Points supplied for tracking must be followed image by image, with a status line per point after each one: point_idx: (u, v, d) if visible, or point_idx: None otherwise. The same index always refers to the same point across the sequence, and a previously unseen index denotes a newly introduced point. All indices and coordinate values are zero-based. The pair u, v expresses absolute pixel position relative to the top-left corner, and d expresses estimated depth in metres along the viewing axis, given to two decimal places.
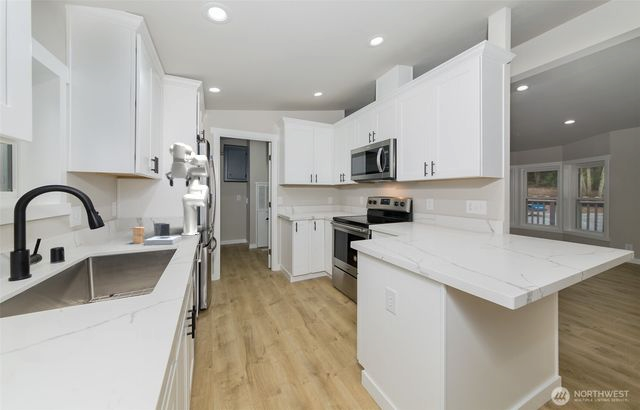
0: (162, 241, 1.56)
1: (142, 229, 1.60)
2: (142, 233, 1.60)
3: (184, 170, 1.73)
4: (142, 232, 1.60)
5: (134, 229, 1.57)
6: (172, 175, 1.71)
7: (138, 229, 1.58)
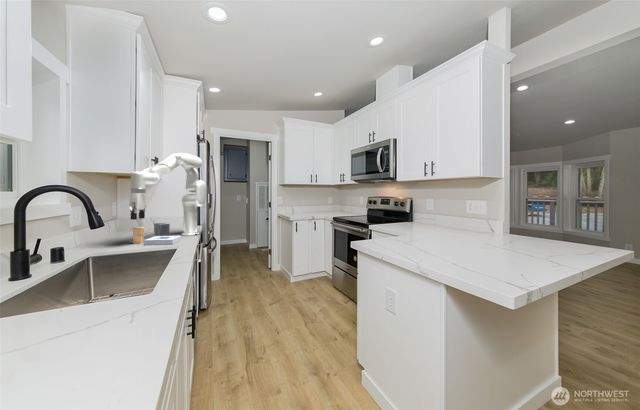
0: (162, 241, 1.56)
1: (142, 229, 1.60)
2: (142, 233, 1.60)
3: (144, 201, 1.63)
4: (142, 232, 1.60)
5: (134, 229, 1.57)
6: (138, 207, 1.56)
7: (138, 229, 1.58)
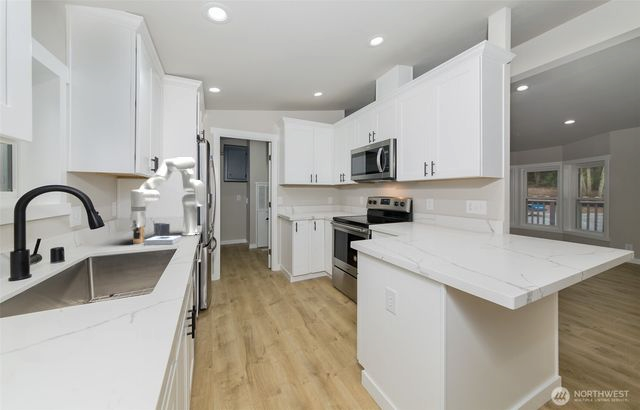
0: (162, 241, 1.56)
1: (142, 229, 1.60)
2: (142, 233, 1.60)
3: (145, 218, 1.64)
4: (142, 232, 1.60)
5: None
6: (139, 225, 1.56)
7: None
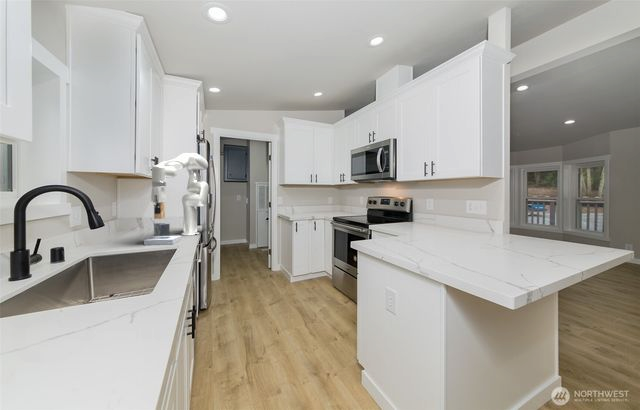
0: (162, 241, 1.56)
1: (162, 204, 1.63)
2: (162, 208, 1.63)
3: (165, 194, 1.66)
4: (162, 207, 1.63)
5: None
6: (160, 200, 1.59)
7: None
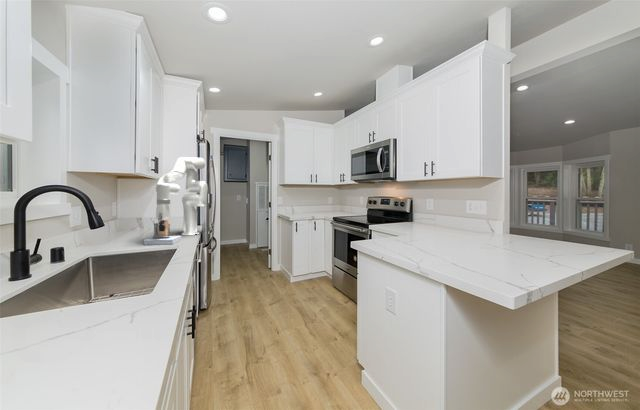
0: (162, 241, 1.56)
1: (167, 222, 1.63)
2: (167, 226, 1.63)
3: (169, 211, 1.67)
4: (167, 225, 1.63)
5: None
6: (164, 218, 1.60)
7: None
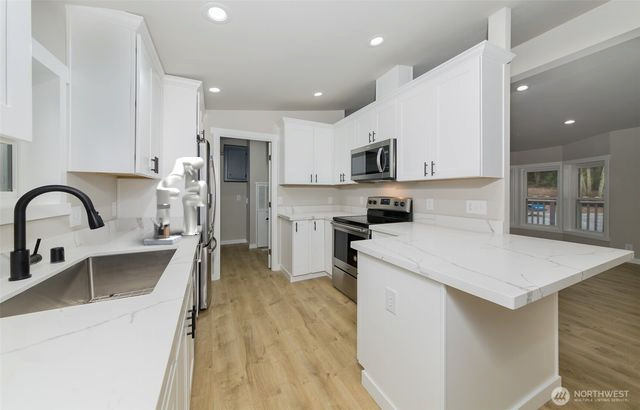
0: (162, 241, 1.56)
1: (167, 229, 1.64)
2: (167, 232, 1.64)
3: (169, 216, 1.67)
4: (167, 231, 1.64)
5: None
6: (164, 222, 1.60)
7: None
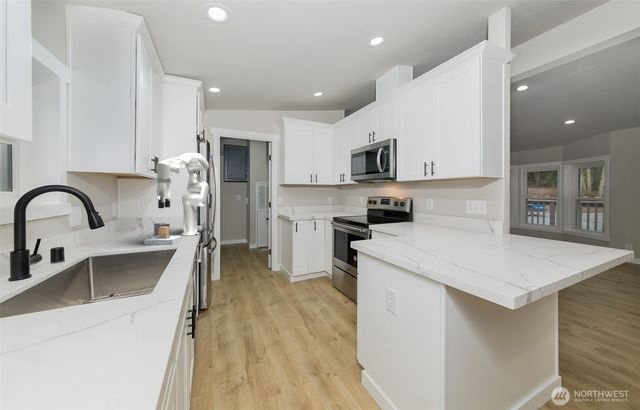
0: (162, 241, 1.56)
1: (167, 229, 1.64)
2: (167, 232, 1.64)
3: None
4: (167, 231, 1.64)
5: (160, 229, 1.61)
6: (165, 196, 1.60)
7: (163, 229, 1.61)
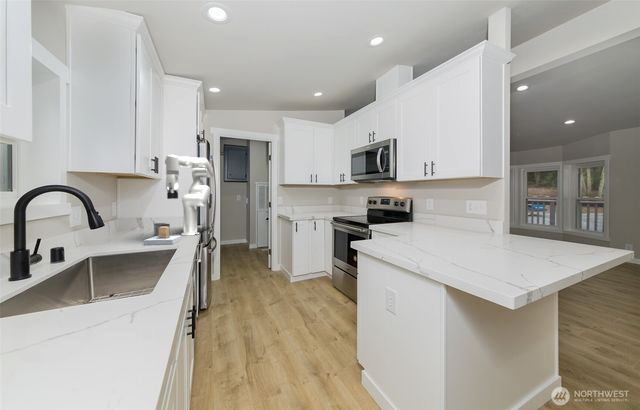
0: (162, 241, 1.56)
1: (167, 229, 1.64)
2: (167, 232, 1.64)
3: None
4: (167, 231, 1.64)
5: (160, 229, 1.61)
6: (174, 187, 1.69)
7: (163, 229, 1.61)
